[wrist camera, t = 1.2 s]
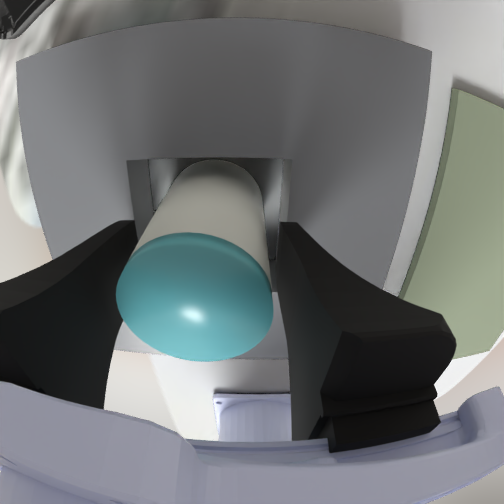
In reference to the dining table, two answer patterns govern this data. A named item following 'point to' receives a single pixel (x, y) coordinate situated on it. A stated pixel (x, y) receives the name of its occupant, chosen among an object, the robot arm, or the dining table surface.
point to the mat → (465, 229)
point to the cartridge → (201, 268)
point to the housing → (229, 131)
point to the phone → (19, 15)
